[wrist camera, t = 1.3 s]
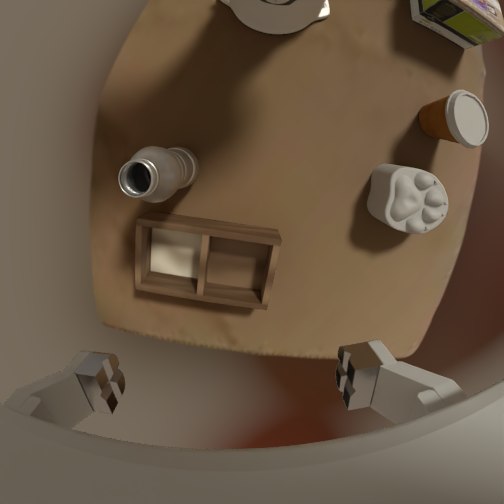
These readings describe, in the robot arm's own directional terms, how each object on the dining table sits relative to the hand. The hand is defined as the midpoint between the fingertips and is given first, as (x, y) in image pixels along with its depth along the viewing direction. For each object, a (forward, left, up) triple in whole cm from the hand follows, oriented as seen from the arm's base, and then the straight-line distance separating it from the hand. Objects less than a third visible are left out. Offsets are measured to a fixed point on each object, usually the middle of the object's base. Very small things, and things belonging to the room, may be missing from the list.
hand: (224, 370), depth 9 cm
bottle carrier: (+10, -4, -38) cm, 40 cm away
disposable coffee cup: (-22, +32, -38) cm, 54 cm away
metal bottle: (-4, -10, -38) cm, 40 cm away
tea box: (-48, +33, -38) cm, 69 cm away
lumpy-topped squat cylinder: (-6, +27, -38) cm, 47 cm away
